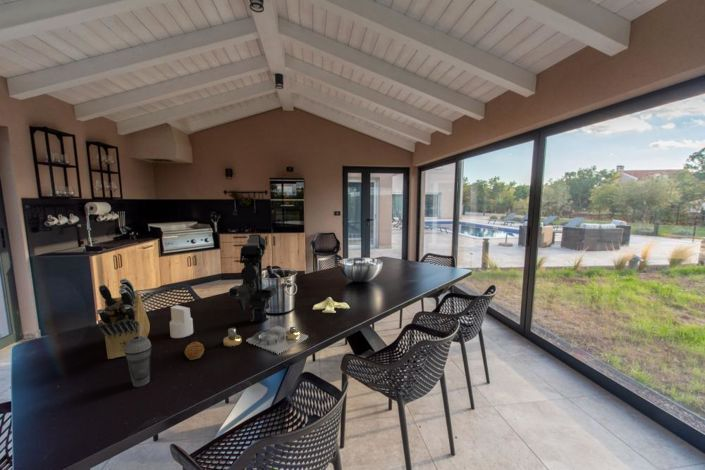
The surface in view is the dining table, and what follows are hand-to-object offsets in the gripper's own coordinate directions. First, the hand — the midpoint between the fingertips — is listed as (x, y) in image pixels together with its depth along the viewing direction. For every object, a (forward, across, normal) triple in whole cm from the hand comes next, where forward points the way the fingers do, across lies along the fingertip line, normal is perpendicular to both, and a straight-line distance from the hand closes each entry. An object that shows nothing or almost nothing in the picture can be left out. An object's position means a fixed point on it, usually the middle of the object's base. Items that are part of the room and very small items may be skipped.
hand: (253, 311), depth 130 cm
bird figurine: (+14, +20, +46) cm, 52 cm away
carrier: (+13, +10, +2) cm, 16 cm away
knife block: (+13, -47, -16) cm, 51 cm away
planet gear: (+13, -8, -4) cm, 16 cm away
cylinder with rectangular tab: (+13, -36, 0) cm, 38 cm away
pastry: (+13, -17, -15) cm, 26 cm away
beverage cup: (+13, -22, -35) cm, 43 cm away
